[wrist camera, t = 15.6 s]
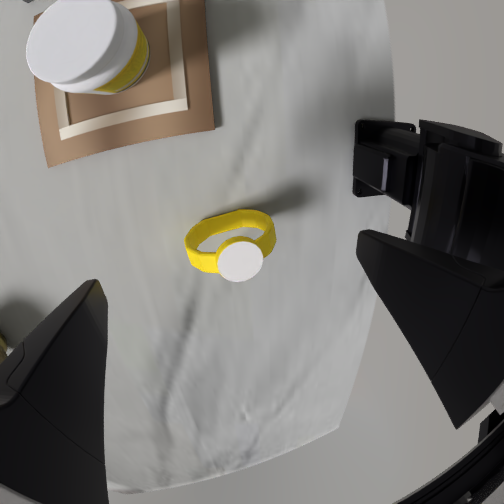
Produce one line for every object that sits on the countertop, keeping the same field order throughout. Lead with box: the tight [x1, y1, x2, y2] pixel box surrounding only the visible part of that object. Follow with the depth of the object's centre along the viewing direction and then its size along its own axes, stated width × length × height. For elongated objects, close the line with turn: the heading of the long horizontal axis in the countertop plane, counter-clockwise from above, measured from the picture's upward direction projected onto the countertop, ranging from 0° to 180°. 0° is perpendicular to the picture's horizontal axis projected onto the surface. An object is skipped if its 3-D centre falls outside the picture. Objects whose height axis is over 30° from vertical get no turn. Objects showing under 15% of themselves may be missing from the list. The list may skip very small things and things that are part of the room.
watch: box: [184, 209, 276, 282], centre depth 19 cm, size 6×3×6 cm, turn 101°
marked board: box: [34, 0, 215, 168], centre depth 13 cm, size 12×12×1 cm
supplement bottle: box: [26, 0, 150, 95], centre depth 10 cm, size 5×5×8 cm
